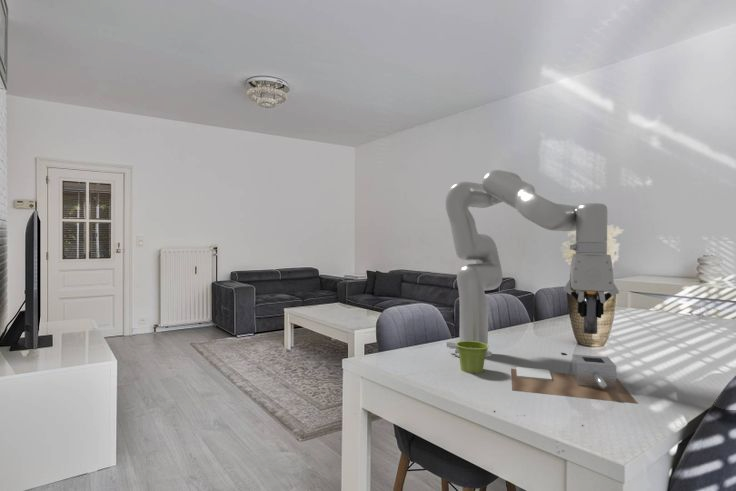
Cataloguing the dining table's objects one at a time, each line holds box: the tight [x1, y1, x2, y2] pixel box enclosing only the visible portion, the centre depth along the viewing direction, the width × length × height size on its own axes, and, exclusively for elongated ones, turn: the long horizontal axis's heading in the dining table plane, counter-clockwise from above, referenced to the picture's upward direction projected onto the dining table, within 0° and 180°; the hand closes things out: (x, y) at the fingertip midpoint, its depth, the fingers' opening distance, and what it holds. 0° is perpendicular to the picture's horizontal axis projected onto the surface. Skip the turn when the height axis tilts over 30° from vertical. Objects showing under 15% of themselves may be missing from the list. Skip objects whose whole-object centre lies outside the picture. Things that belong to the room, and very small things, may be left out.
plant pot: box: [455, 341, 489, 374], centre depth 125 cm, size 9×9×9 cm
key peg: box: [582, 291, 598, 335], centre depth 115 cm, size 3×3×12 cm
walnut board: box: [510, 368, 639, 405], centre depth 113 cm, size 28×20×1 cm
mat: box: [515, 366, 552, 381], centre depth 121 cm, size 9×9×1 cm
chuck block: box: [571, 354, 617, 389], centre depth 111 cm, size 9×17×6 cm, turn 162°
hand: (590, 316), depth 115 cm, fingers closed on key peg, 3 cm apart
